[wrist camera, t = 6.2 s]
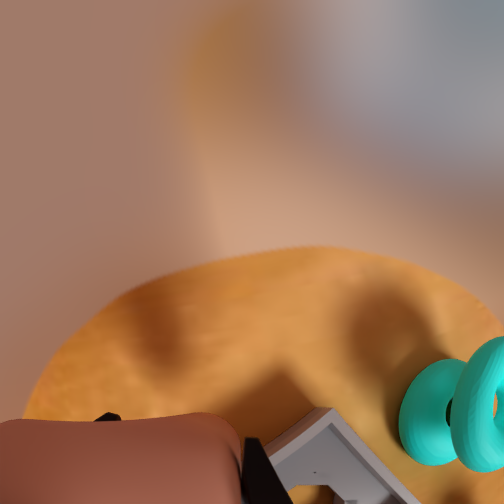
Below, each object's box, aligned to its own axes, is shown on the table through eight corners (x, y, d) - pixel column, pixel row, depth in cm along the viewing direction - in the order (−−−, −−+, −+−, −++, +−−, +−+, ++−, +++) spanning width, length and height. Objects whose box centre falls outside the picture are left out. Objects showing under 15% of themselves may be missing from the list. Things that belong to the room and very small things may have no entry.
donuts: (506, 493, 6) (446, 428, 10) (431, 481, 15) (371, 425, 19) (555, 379, 10) (506, 302, 13) (483, 399, 19) (433, 341, 22)
